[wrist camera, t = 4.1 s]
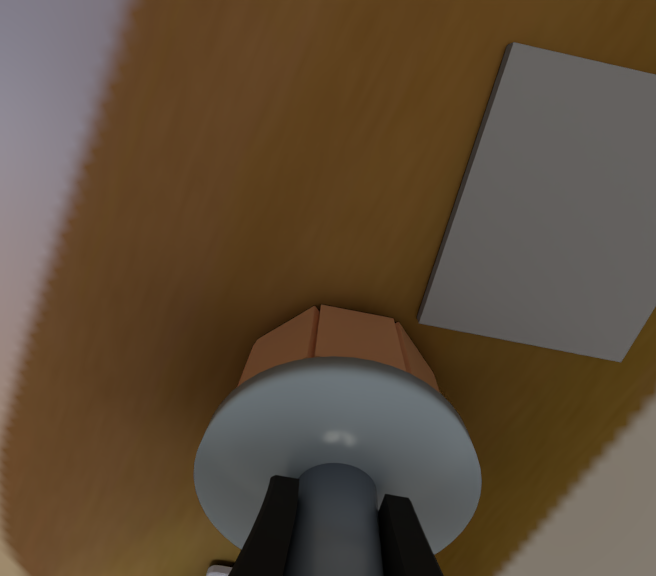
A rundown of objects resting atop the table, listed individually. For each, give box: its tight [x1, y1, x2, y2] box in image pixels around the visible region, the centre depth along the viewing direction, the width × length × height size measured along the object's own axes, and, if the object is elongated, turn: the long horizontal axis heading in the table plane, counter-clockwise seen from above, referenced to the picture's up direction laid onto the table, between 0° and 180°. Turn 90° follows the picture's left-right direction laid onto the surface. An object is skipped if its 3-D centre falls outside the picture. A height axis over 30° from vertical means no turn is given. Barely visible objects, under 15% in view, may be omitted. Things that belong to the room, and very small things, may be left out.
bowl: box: [237, 305, 440, 393], centre depth 13 cm, size 7×7×3 cm
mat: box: [417, 42, 656, 362], centre depth 11 cm, size 8×7×1 cm
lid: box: [194, 356, 482, 576], centre depth 9 cm, size 8×8×4 cm
